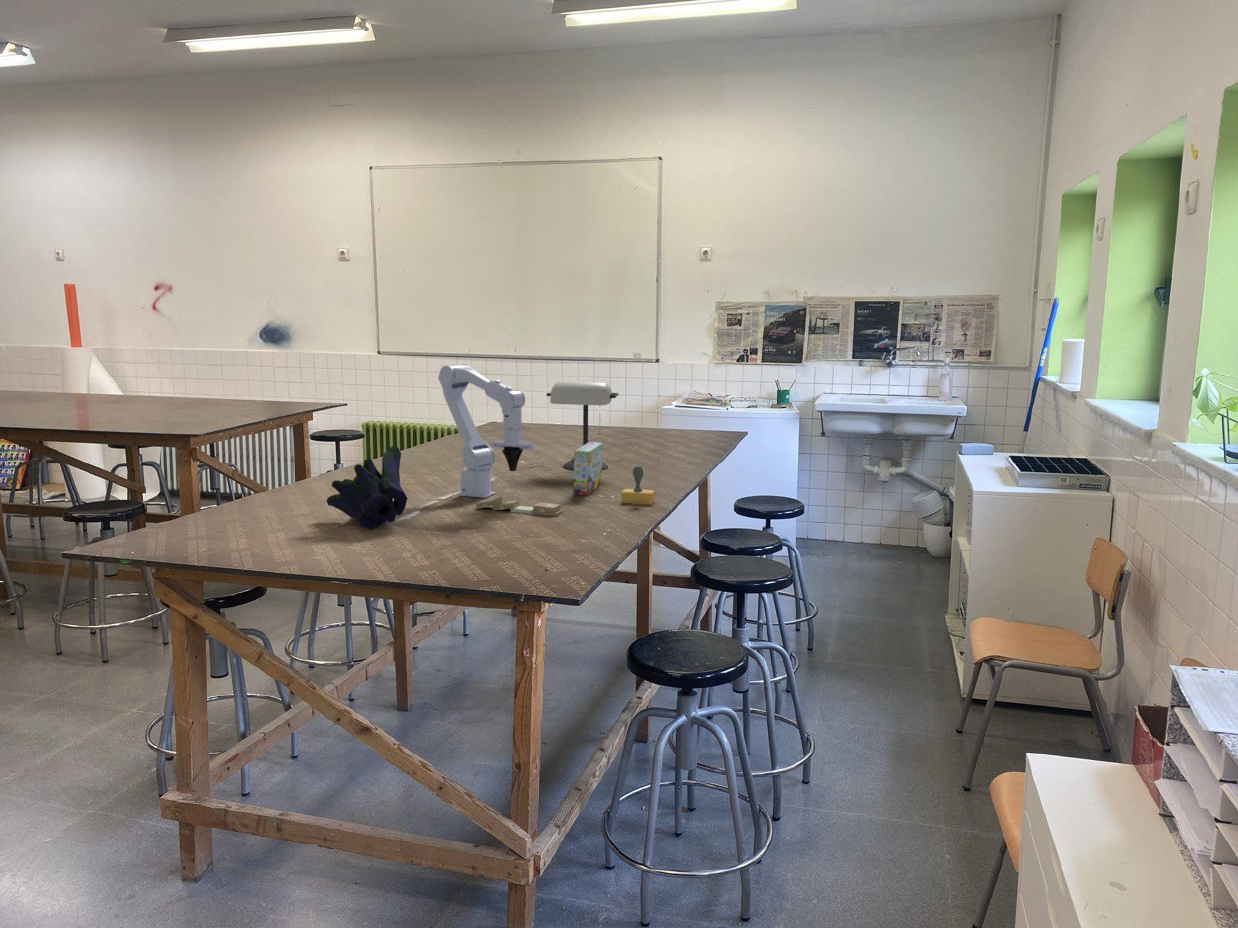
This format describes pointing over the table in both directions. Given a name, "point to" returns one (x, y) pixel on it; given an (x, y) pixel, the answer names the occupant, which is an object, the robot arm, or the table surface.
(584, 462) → the snack box
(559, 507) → the domino
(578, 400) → the lamp
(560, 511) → the domino
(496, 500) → the domino
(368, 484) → the dark blue lobed piece
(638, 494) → the rubber stamp
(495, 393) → the robot arm
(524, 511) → the domino
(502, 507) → the domino
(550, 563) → the table surface
